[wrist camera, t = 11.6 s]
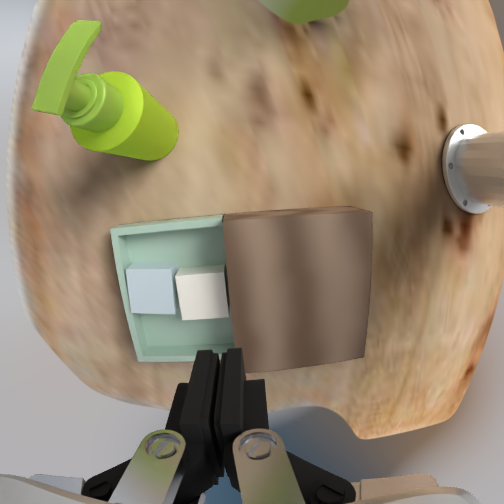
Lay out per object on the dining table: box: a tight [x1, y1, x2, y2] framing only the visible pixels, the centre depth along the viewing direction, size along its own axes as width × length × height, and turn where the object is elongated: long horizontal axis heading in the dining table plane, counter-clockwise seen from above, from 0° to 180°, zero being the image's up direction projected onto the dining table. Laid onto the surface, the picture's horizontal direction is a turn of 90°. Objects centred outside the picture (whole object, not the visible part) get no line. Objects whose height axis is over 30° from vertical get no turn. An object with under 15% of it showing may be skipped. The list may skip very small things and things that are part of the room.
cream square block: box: [175, 264, 229, 320], centre depth 32 cm, size 5×5×3 cm
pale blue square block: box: [126, 262, 179, 314], centre depth 32 cm, size 5×5×3 cm
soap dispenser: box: [32, 20, 179, 161], centre depth 20 cm, size 6×7×20 cm
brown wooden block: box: [222, 206, 372, 373], centre depth 31 cm, size 14×16×6 cm
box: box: [110, 214, 235, 362], centre depth 32 cm, size 12×16×3 cm
